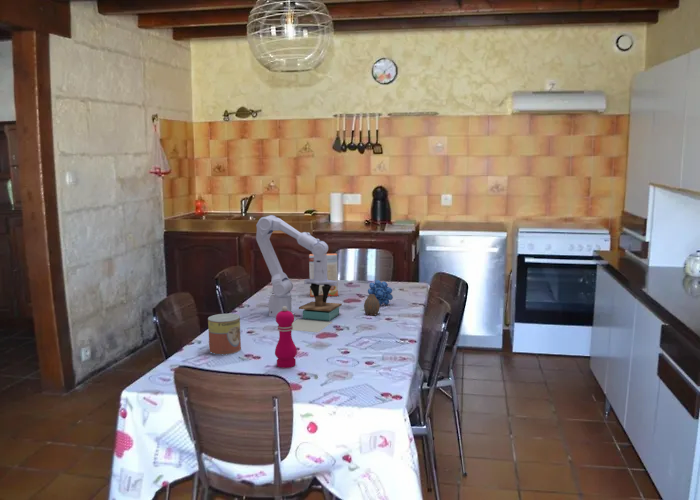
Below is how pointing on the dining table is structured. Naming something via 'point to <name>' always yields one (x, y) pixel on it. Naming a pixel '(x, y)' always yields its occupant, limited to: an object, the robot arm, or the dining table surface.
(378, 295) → the grapes
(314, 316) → the dish
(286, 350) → the pepper mill
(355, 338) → the dining table surface
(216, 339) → the canned food
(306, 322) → the mat
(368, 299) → the brown egg-shaped piece
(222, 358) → the dining table surface
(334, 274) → the cracker box
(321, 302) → the lid
